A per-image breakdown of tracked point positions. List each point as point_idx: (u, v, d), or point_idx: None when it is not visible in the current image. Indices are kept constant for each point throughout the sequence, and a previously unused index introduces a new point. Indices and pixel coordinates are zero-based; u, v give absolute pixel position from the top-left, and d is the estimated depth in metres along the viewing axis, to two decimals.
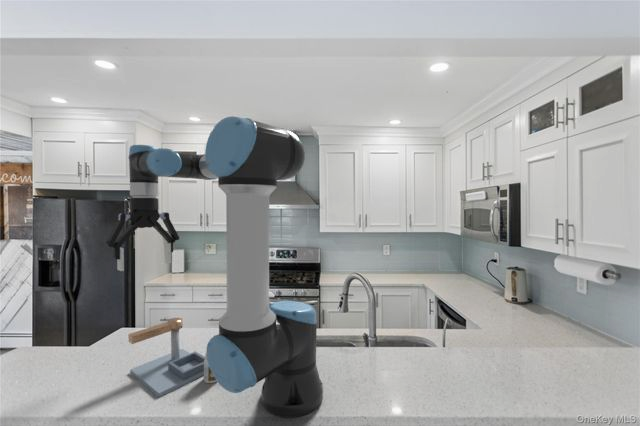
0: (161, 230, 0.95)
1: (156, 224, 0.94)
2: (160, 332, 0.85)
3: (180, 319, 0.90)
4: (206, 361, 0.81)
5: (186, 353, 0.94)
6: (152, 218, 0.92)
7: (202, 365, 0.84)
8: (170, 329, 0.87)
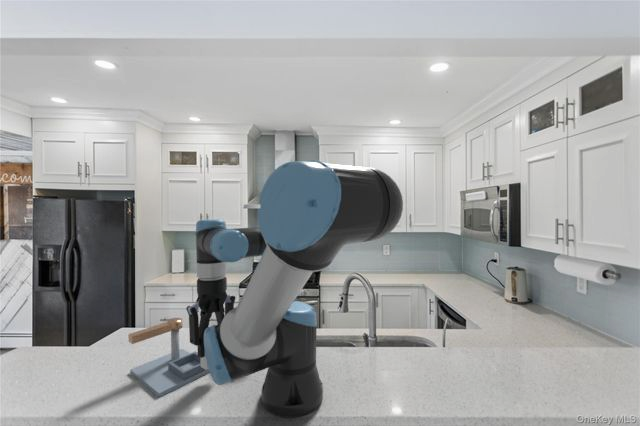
0: (222, 318, 0.82)
1: (221, 309, 0.81)
2: (160, 332, 0.85)
3: (180, 319, 0.90)
4: None
5: (186, 353, 0.94)
6: (220, 301, 0.81)
7: None
8: (170, 329, 0.87)
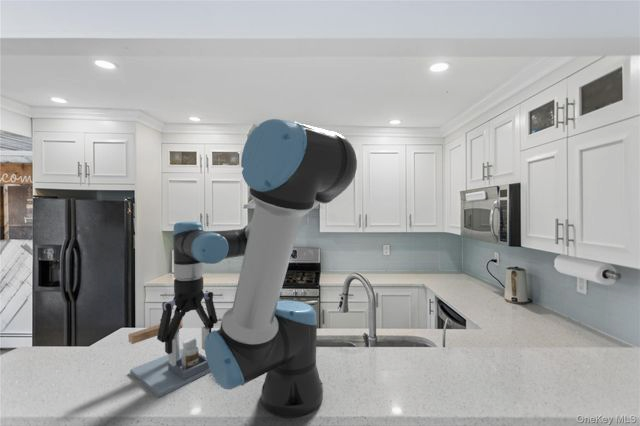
0: (202, 313, 0.87)
1: (199, 307, 0.85)
2: None
3: None
4: (183, 350, 0.84)
5: None
6: (197, 300, 0.84)
7: (202, 365, 0.84)
8: None
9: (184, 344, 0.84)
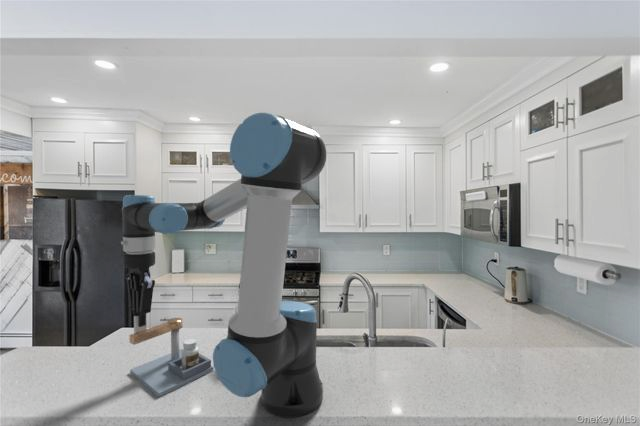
0: None
1: None
2: (161, 333, 0.85)
3: (180, 319, 0.91)
4: (184, 351, 0.84)
5: None
6: None
7: (202, 365, 0.84)
8: (171, 329, 0.87)
9: (184, 344, 0.84)
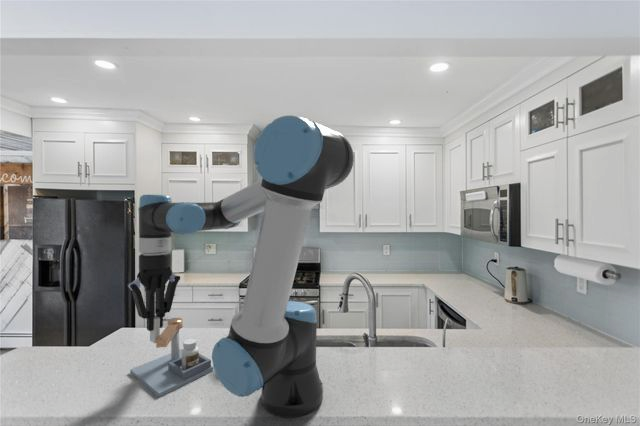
0: None
1: None
2: (174, 332, 0.85)
3: (178, 318, 0.91)
4: (184, 351, 0.84)
5: None
6: None
7: (202, 365, 0.84)
8: (177, 328, 0.88)
9: (184, 344, 0.84)
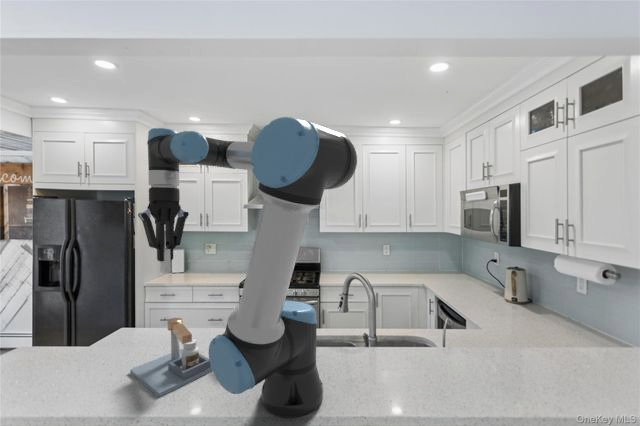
0: None
1: None
2: None
3: (175, 318, 0.91)
4: (184, 351, 0.84)
5: None
6: None
7: (202, 365, 0.84)
8: None
9: (184, 344, 0.84)
